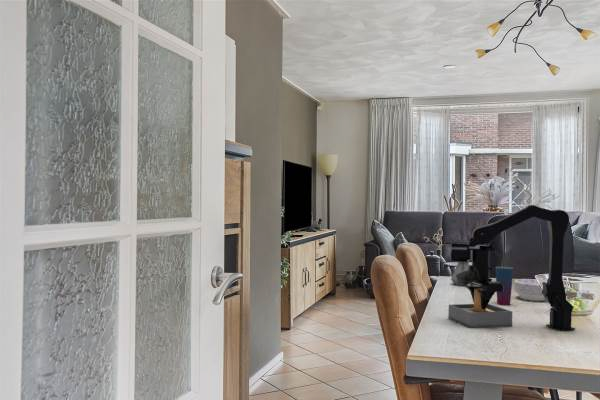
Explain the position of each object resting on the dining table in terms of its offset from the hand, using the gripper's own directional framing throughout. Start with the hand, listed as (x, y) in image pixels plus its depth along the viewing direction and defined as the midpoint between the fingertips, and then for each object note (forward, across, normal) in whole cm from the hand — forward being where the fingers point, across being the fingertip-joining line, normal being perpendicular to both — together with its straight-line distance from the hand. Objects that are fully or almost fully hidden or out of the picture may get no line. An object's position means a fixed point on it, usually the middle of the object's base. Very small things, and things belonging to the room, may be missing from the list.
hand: (479, 308), depth 184 cm
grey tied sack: (+5, -72, +36) cm, 80 cm away
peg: (+2, 0, 0) cm, 2 cm away
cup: (+5, -28, +29) cm, 41 cm away
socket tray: (+5, 0, 0) cm, 5 cm away
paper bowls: (+5, -36, +49) cm, 61 cm away
